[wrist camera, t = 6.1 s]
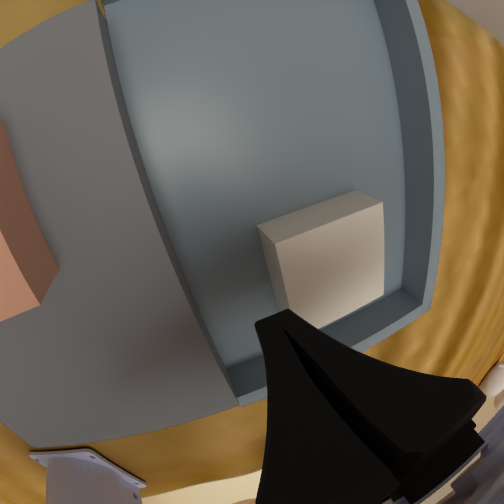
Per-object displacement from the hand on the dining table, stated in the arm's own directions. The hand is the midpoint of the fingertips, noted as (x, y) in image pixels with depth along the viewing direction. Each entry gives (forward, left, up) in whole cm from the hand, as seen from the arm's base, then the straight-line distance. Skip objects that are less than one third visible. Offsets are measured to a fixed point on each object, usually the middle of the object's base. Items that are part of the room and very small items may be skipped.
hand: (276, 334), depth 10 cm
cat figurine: (-58, -56, -4) cm, 81 cm away
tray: (+4, -4, -4) cm, 7 cm away
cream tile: (0, -4, -1) cm, 4 cm away
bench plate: (+4, +10, -4) cm, 11 cm away
